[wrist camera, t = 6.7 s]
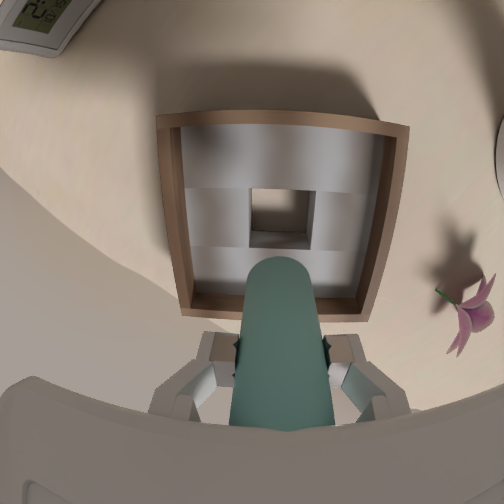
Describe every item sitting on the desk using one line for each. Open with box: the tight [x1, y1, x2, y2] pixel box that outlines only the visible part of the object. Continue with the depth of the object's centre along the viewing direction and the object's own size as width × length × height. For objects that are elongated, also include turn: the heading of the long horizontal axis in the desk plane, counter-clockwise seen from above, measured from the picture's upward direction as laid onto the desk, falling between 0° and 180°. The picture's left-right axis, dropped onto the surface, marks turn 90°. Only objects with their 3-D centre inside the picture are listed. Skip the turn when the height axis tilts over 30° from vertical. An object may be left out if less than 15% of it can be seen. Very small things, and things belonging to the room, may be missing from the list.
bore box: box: [156, 110, 410, 322], centre depth 23 cm, size 18×18×6 cm
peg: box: [229, 256, 335, 432], centre depth 11 cm, size 4×4×10 cm
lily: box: [435, 273, 496, 357], centre depth 26 cm, size 12×12×10 cm
